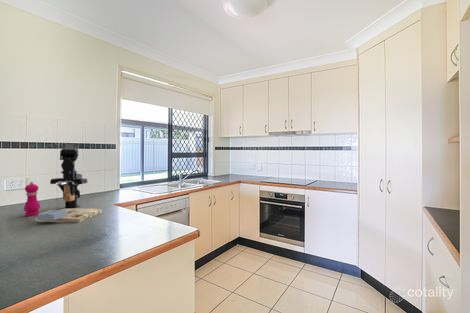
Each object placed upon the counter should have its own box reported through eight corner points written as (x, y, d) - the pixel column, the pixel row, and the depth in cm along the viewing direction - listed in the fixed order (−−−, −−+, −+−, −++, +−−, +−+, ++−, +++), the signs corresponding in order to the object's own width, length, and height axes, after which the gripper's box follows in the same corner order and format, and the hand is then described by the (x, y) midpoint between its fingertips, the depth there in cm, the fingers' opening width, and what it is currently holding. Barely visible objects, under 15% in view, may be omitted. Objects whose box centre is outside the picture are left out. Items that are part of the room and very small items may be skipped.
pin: (64, 201, 134) (64, 186, 133) (68, 199, 137) (68, 185, 137) (70, 201, 134) (69, 186, 133) (74, 199, 137) (74, 185, 137)
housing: (51, 215, 128) (51, 209, 128) (67, 215, 128) (67, 209, 128) (37, 219, 119) (37, 214, 119) (54, 220, 119) (54, 214, 119)
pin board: (64, 211, 143) (64, 208, 143) (101, 212, 142) (101, 208, 142) (35, 221, 123) (35, 218, 123) (78, 222, 122) (78, 218, 122)
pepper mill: (30, 217, 131) (29, 182, 131) (20, 216, 133) (19, 182, 132) (43, 213, 138) (42, 180, 138) (33, 213, 140) (33, 180, 139)
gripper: (93, 168, 143) (93, 193, 143) (64, 168, 143) (64, 192, 144) (80, 170, 131) (81, 196, 132) (49, 169, 132) (49, 196, 133)
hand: (69, 195), depth 135 cm, fingers closed on pin, 3 cm apart
